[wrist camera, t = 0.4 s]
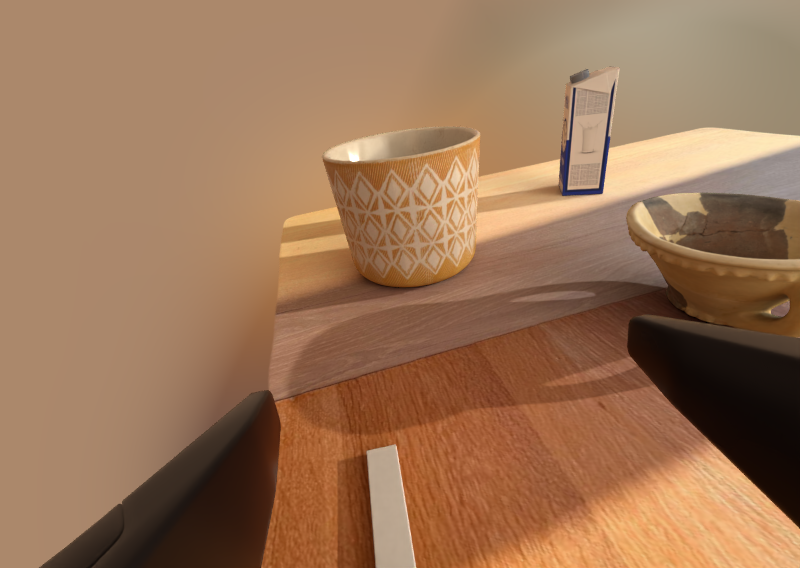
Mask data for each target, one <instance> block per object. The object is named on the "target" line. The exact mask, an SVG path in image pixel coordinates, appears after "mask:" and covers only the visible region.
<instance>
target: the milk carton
mask: <svg viewBox="0 0 800 568" xmlns="http://www.w3.org/2000/svg"><path fill="white" fill-rule="evenodd" d="M618 75H619V68H618V67H611V66H610V67H607V68H604V69H601V70H597V71H594V72H592V73H590V74H589V71H588V69H586V70H583V71H581V72H579V73H576V74H574V75H572V76H570V80H571V82H569V83H567V84H566V92H565V105H564V119H563V132H562V146H561V159H560V173H559V187H560V190H561V193H562V196H566V195H585V194H602V193H603V188H604V180H605V173H606V165H607V158H608V150H609V143H610V134H611V128H612V120H613V113H614V105H615V98H616V90H617V83H618Z"/></svg>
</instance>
